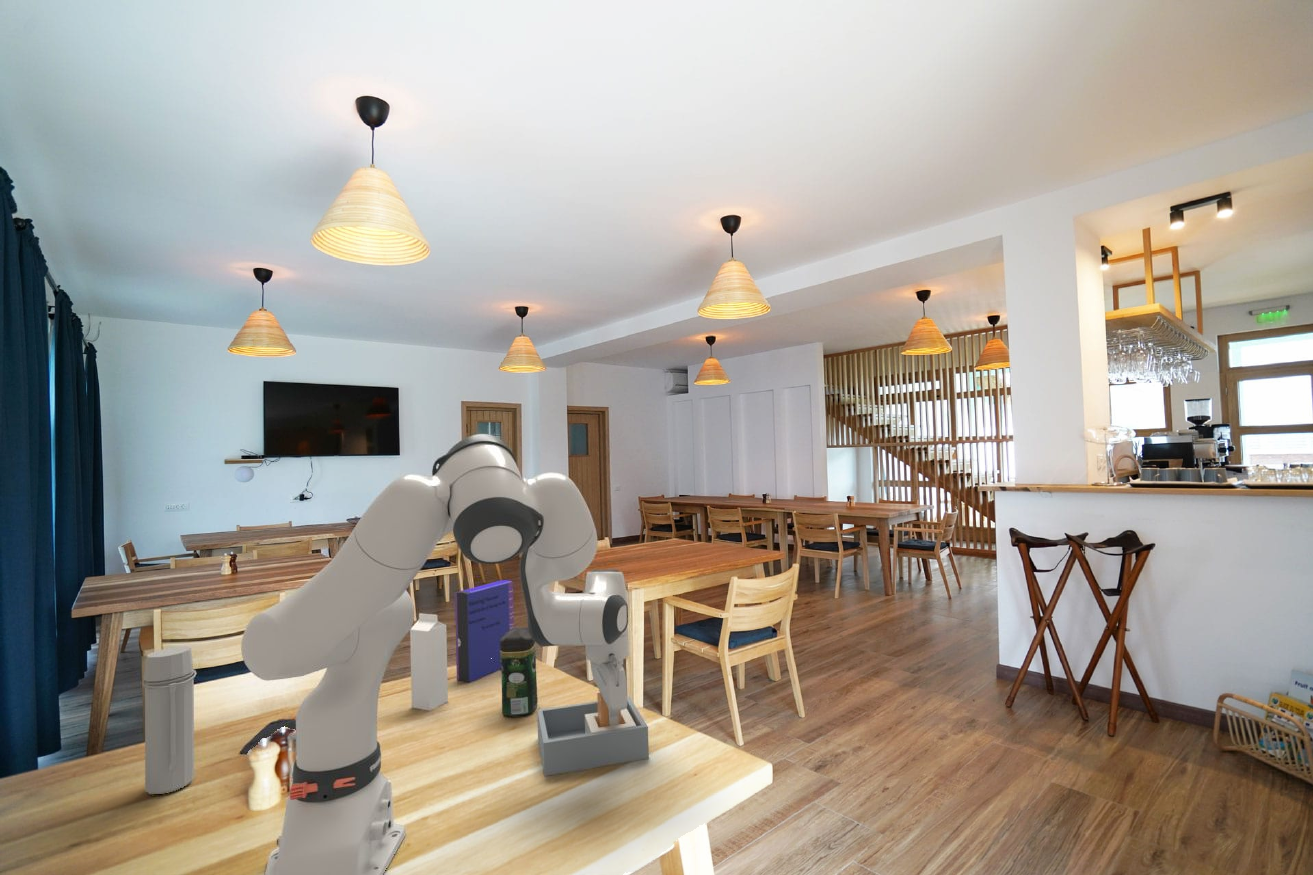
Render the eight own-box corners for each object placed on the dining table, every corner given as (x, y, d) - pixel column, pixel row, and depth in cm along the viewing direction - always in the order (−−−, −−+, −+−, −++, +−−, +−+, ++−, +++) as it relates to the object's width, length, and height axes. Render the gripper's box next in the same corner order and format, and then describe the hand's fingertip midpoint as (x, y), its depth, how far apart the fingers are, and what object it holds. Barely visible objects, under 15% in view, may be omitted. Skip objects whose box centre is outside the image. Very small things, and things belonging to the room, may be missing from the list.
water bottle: (140, 788, 112) (140, 652, 113) (193, 771, 118) (192, 642, 119) (145, 807, 106) (145, 663, 107) (201, 788, 111) (200, 652, 112)
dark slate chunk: (284, 725, 139) (284, 704, 140) (374, 726, 137) (374, 704, 137) (231, 757, 124) (231, 734, 124) (331, 759, 122) (331, 735, 122)
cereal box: (503, 661, 178) (500, 579, 179) (515, 663, 176) (512, 580, 177) (456, 680, 163) (454, 591, 164) (469, 683, 161) (467, 593, 162)
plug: (621, 742, 121) (620, 693, 122) (602, 745, 120) (600, 696, 121) (617, 734, 125) (616, 686, 125) (598, 737, 124) (597, 689, 124)
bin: (648, 757, 117) (647, 726, 117) (544, 775, 111) (543, 742, 112) (630, 724, 132) (629, 696, 132) (538, 738, 127) (537, 709, 127)
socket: (637, 745, 120) (636, 725, 120) (592, 753, 117) (591, 732, 117) (627, 727, 128) (626, 708, 128) (585, 733, 126) (584, 714, 126)
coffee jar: (507, 702, 147) (505, 625, 148) (540, 700, 147) (537, 624, 148) (498, 719, 137) (495, 636, 138) (532, 717, 137) (530, 635, 138)
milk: (429, 698, 151) (428, 610, 152) (448, 701, 149) (446, 611, 150) (411, 708, 146) (409, 615, 147) (429, 711, 143) (428, 617, 144)
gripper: (633, 661, 114) (636, 735, 114) (612, 632, 134) (614, 695, 133) (601, 665, 113) (603, 740, 112) (584, 636, 132) (586, 699, 132)
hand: (609, 715), depth 123 cm, fingers open, 7 cm apart
